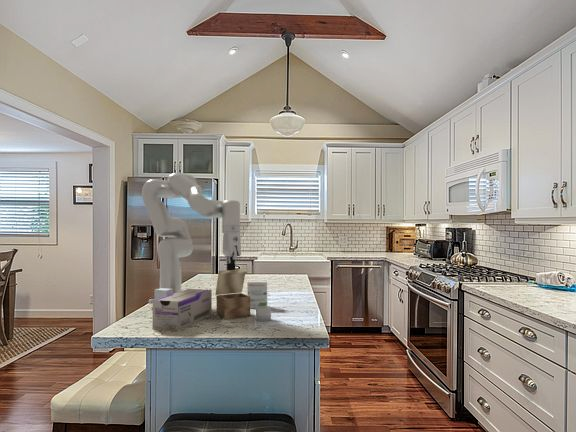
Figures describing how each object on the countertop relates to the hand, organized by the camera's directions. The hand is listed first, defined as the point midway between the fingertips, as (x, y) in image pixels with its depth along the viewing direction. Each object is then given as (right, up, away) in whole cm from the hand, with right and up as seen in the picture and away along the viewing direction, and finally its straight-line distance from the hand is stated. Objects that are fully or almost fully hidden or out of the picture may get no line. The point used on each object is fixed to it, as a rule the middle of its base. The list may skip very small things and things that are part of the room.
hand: (230, 272), depth 162 cm
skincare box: (-25, -17, -9) cm, 32 cm away
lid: (+1, -5, -2) cm, 5 cm away
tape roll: (+14, -17, -11) cm, 25 cm away
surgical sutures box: (-16, -18, -13) cm, 27 cm away
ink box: (+10, -18, +12) cm, 24 cm away
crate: (+1, -17, -3) cm, 18 cm away
